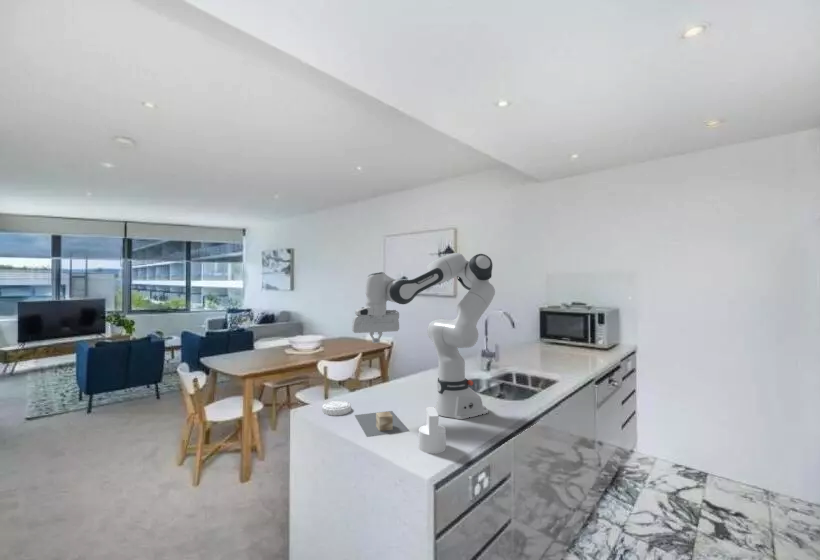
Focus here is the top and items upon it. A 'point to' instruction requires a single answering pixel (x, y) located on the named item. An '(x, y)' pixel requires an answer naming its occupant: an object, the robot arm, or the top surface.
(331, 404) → the white mooncake
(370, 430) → the rubber mat
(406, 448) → the top surface
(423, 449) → the white cylinder with post
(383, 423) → the maple block
